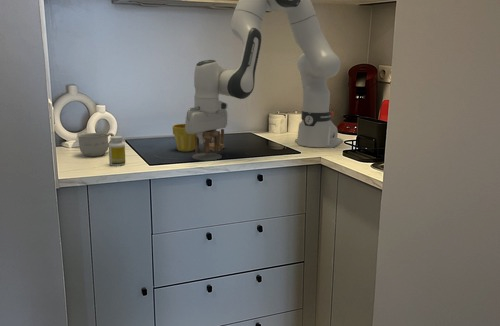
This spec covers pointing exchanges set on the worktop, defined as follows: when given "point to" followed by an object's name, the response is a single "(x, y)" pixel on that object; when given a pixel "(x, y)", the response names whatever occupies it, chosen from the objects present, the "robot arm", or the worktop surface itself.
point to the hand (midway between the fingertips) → (206, 142)
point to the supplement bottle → (116, 151)
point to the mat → (206, 156)
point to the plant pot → (183, 138)
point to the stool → (207, 141)
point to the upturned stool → (220, 145)
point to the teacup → (94, 143)
